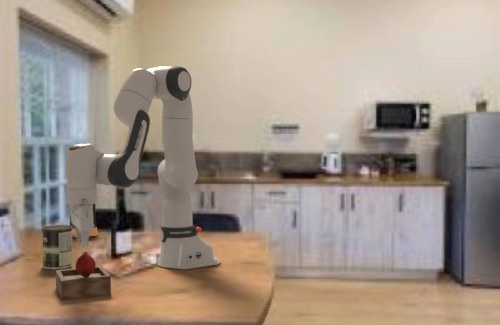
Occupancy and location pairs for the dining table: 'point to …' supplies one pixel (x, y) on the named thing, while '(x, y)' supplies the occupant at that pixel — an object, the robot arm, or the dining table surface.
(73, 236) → the whiskey bottle
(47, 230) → the coffee can
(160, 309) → the dining table surface
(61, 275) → the wooden box
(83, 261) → the onion
